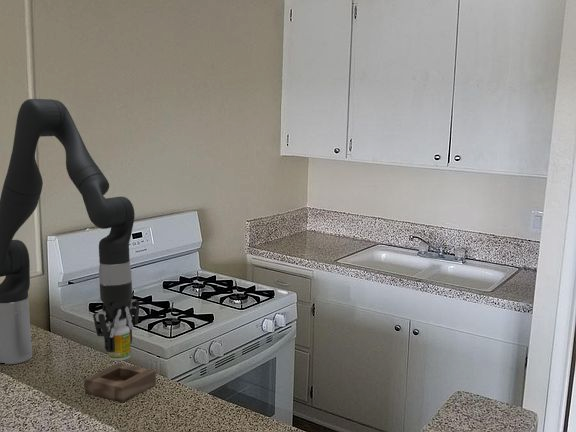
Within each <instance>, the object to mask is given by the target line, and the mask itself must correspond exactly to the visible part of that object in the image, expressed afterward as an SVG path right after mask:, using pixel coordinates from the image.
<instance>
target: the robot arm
mask: <svg viewBox="0 0 576 432" xmlns="http://www.w3.org/2000/svg"><path fill="white" fill-rule="evenodd" d="M18 109H19V110H18V113H17V116H16V122H15V129H14V138H13V144H12V151H11V155H10V159H9V163H8V167H7V172H6V175H5V179H4V182H3V185H2V189H1V193H0V278H2V277H5V278H4V279H3V280H2V281H1V283H0V362H1V363H5V364H4V365H16V364H21V363H24V362H27V361H29V360H31V359H32V358H33V349H32V335H31V334H32V332H31V319H30V318H31V317H30V307H29V305H30V303H29V290H30V286H31V285H30V284H31V282H30V281H31V280H30V279H31V278H30V277H31V276H30V275H31V273H30V272H31V271H30V270H31V268H30V267H31V265H30V264H31V263H30V262H31V261H30V253H29V250H28V247H27V246H26V243H24V241H22V240H19V239H14V237H15V235H16V234H17V232H18V231H19V229H20V228H21V227H22V226H23V225H24V224H25V222H27V220H28V219H29V218H30V217H31V216H32V214H33V213H34V211H35V210H36V209H37V206H38V204H39V201H40V197H41V194H42V191H43V186H44V185H43V183H44V182H43V177H42V173H41V171H40V168H39V166H38V163H37V160H36V151H37V147H38V142H39V139H40V138H41V137H55V138H56V139H57V140H58V142H59V143H60V144H61V145H62V146H63V149H64V151H65V167H66V168H65V169H66V172H67V175H68V177H69V179H70V181H71V182H72V183H73V185H74V186H75V188H76V189H77V191H78V192H79V194H80V195H81V197H82V200H83V203H84V206H85V209H86V210H85V211H86V213H87V215H88V217H89V218H88V219H89V221H90V222H91V223H92V224H93V225H94V226H95V227H97V228H99V229H102V230H105V229H109V230H110V231H109V234H108V235H107V236H105V237H103V238H101V239H100V240H99V242H98V258H99V259H98V260H99V267H98V277H99V299H100V301H101V302H102V305H103V306H102V310H101V311H99V312H94V313H93V315H92V317H93V322H94V327H95V330H96V331H95V332H96V336H97V337H101V338H102V337H103V339H104V349H105V351H106V352H107V353H108V352H114V351H115V344H114V337H113V336H114V331H115V328H117V325H118V321H119V320H121V319H124V318H126V323H127V324H126V326H128V327H129V329H130V345H131V344H133V329H134V326H138V323H139V315H140V314H139V313H140V305H141V303H140V301H139V300H133V299H132V298H133V280H132V268H131V267H132V266H131V261H130V242H131V238H132V232H133V229H134V222H135V208H134V205H133V203H132V202H131V200H130V199H129V198H127V197H126V196H114V197H109V198H106V197H105V195H106V194H107V193H108V191H109V189H110V183H109V181H108V179H107V177H106V176H105V175H104V172H102V170H101V169H100V167H99V166H98V165H97V163H96V162H95V160H94V159H93V157H92V156H91V154H90V153H89V150H88V149H87V147H86V145H85V143H84V140H83V138H82V136H81V134H80V132H79V130H78V128H77V126H76V123H75V121H74V119H73V117H72V115H71V113H70V112H69V110H68V108H67V106H66V105H65V104H64V103H63V102H61V101H59V100H57V99H50V98H48V99H45V98H29V99H26V100H24V101H23V102H22V104H21V105H20V107H19V108H18ZM109 322H113V323H112V324H109ZM109 327H110V331H109V332H108V329H109Z"/></svg>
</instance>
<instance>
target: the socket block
mask: <svg viewBox="0 0 576 432" xmlns="http://www.w3.org/2000/svg"><path fill="white" fill-rule="evenodd" d="M156 374H157V373H156V370H153V369H148V368H144V367H139V366H134V365H129V364H125V363H120V362H118V363H116V364H114V365H112V366H109V367H107V368H105V369H103V370H101V371H98V372H96V373H94V374H92V375H90V376H87V377H85V378H84V380H83V381H84V394H87V395H90V396H95V397H98V398H102V399H106V400H111V401H113V402H114V401H115V402H119V403H125V402H127V401H129V400H131V399H132V398H134V397H136V396H138V395H140V394H141V393H143V392H145V391H147V390H149V389H151V388H152V387H154V386H156V385H157V381H156V379H157V375H156Z"/></svg>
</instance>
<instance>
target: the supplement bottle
mask: <svg viewBox="0 0 576 432" xmlns="http://www.w3.org/2000/svg"><path fill="white" fill-rule="evenodd" d="M112 323H113V322H109V324H112ZM126 324H127V323H126V318H124V319H121V320H119V321H118V325H117V328H115V331H114V336H113V337H114V344H115V351H114V352H107V357H108V359H109V360H110V361H116V362H117V361H118V362H119V361H124V360H127V359H130V357H131V356H132V355H131V354H132V351H131V350H132V348H131V344H130V329H129V327H128V326H126ZM109 331H110V327H109V329H108V332H109Z"/></svg>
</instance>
